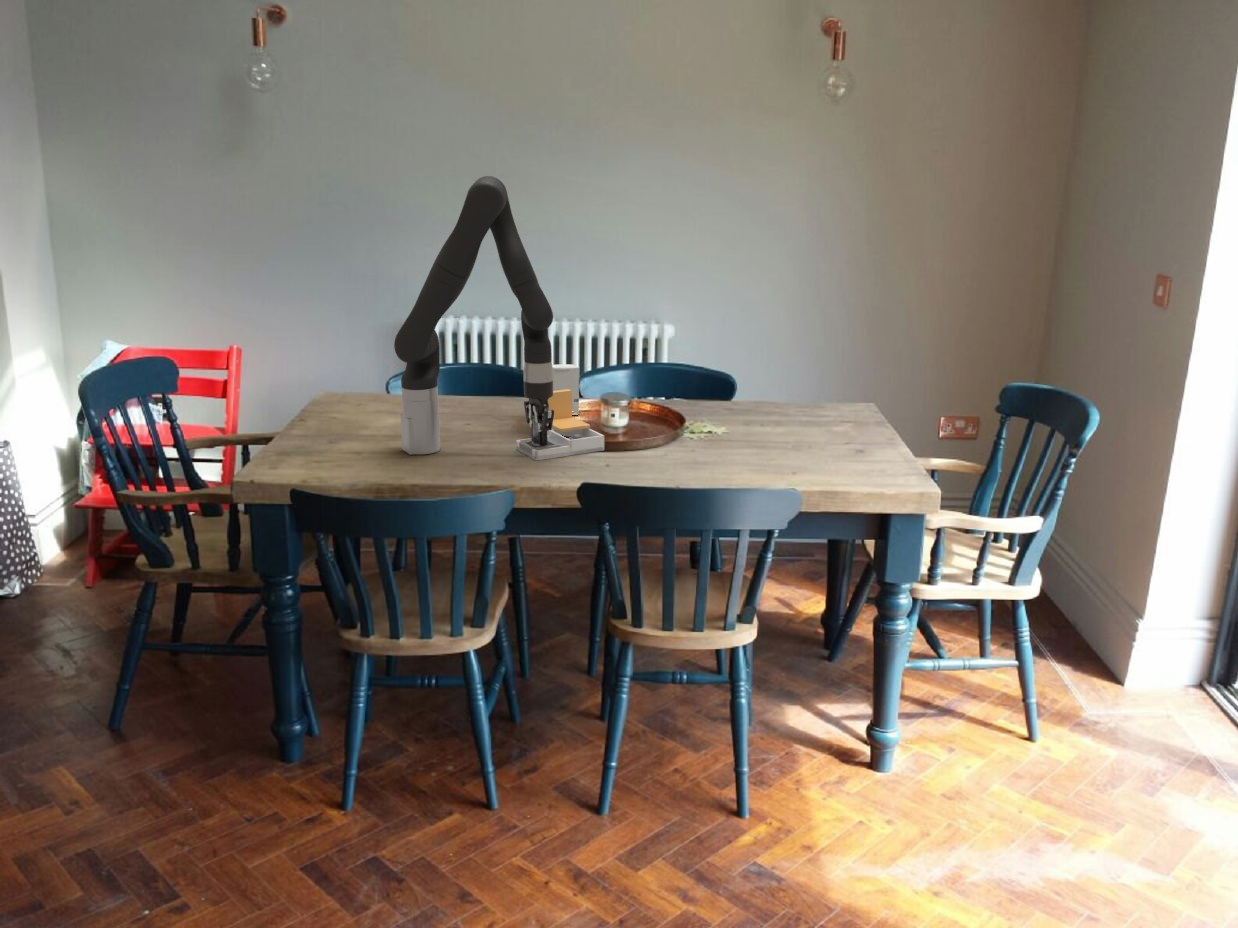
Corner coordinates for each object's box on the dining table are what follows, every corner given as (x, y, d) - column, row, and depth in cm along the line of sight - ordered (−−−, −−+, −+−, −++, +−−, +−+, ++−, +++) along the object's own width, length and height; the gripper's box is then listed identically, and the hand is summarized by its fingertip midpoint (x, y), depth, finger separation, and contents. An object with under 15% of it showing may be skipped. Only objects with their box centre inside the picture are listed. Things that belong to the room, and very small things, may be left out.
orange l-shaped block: (560, 431, 300) (560, 401, 298) (541, 422, 310) (540, 392, 308) (590, 427, 304) (590, 397, 302) (570, 418, 315) (569, 389, 312)
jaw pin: (549, 446, 295) (549, 418, 293) (535, 448, 293) (535, 420, 291) (543, 443, 299) (542, 415, 296) (529, 445, 297) (528, 417, 295)
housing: (535, 460, 290) (535, 445, 289) (504, 442, 306) (503, 428, 305) (604, 450, 299) (604, 435, 298) (570, 433, 316) (570, 419, 315)
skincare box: (552, 418, 332) (551, 368, 328) (547, 413, 338) (546, 364, 334) (580, 416, 335) (579, 366, 330) (574, 411, 340) (574, 362, 336)
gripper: (563, 382, 287) (564, 447, 292) (539, 372, 299) (540, 435, 304) (536, 385, 283) (537, 451, 288) (513, 375, 295) (515, 438, 300)
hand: (539, 442), depth 296 cm, fingers closed on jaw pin, 3 cm apart
